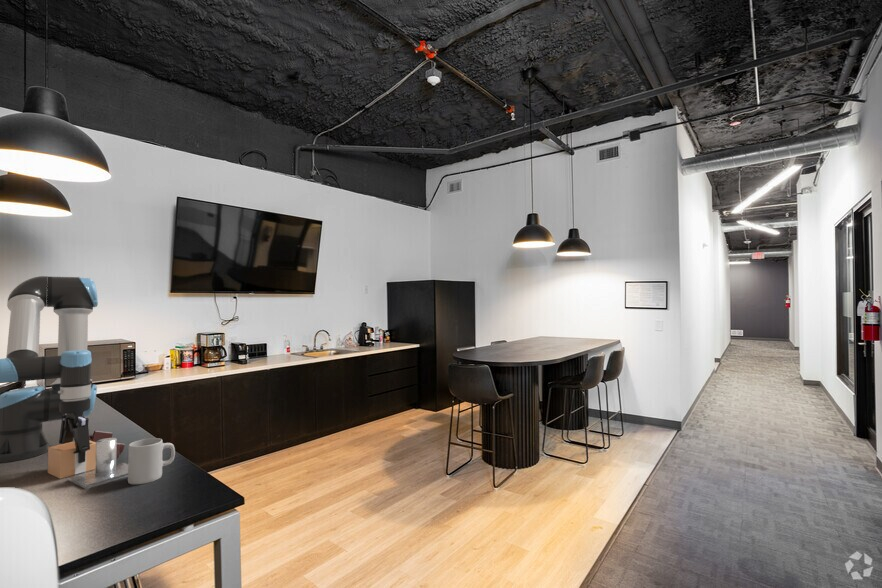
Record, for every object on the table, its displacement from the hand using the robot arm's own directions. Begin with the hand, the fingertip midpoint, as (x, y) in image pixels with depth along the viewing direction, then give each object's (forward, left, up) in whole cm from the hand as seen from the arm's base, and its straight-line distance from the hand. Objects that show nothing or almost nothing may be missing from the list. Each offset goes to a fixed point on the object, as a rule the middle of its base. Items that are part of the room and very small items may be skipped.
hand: (73, 469), depth 134 cm
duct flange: (+15, +3, 0) cm, 15 cm away
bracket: (-4, +9, -1) cm, 10 cm away
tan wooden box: (0, 0, 0) cm, 0 cm away
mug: (+28, +10, 0) cm, 30 cm away
